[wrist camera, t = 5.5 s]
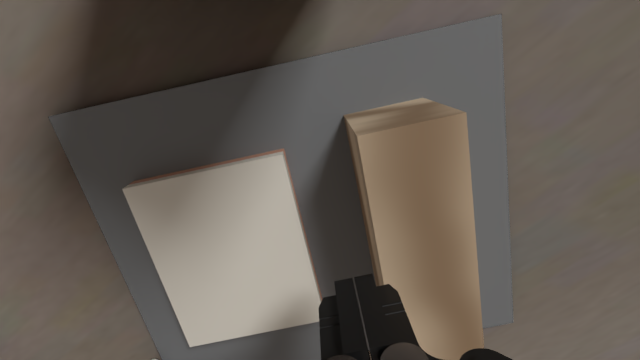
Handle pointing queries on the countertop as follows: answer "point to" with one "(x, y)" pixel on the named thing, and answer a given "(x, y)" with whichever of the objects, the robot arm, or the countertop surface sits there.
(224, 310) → the tile
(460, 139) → the block
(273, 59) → the countertop surface
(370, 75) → the mat
